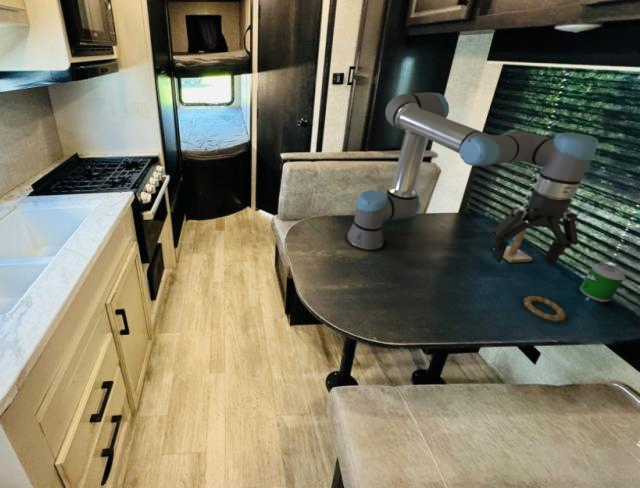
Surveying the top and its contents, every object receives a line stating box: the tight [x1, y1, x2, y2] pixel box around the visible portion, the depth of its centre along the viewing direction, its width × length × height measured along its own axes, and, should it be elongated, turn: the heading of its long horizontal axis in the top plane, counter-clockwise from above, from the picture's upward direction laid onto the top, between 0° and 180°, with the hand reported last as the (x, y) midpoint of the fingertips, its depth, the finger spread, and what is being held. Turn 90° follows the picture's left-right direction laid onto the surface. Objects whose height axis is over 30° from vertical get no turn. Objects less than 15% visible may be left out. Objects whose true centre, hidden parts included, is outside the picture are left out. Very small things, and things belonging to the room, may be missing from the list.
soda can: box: [579, 262, 626, 303], centre depth 108 cm, size 8×8×12 cm
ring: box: [522, 295, 567, 322], centre depth 104 cm, size 10×10×2 cm
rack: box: [492, 228, 533, 263], centre depth 129 cm, size 9×9×14 cm
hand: (522, 261), depth 89 cm, fingers open, 13 cm apart
